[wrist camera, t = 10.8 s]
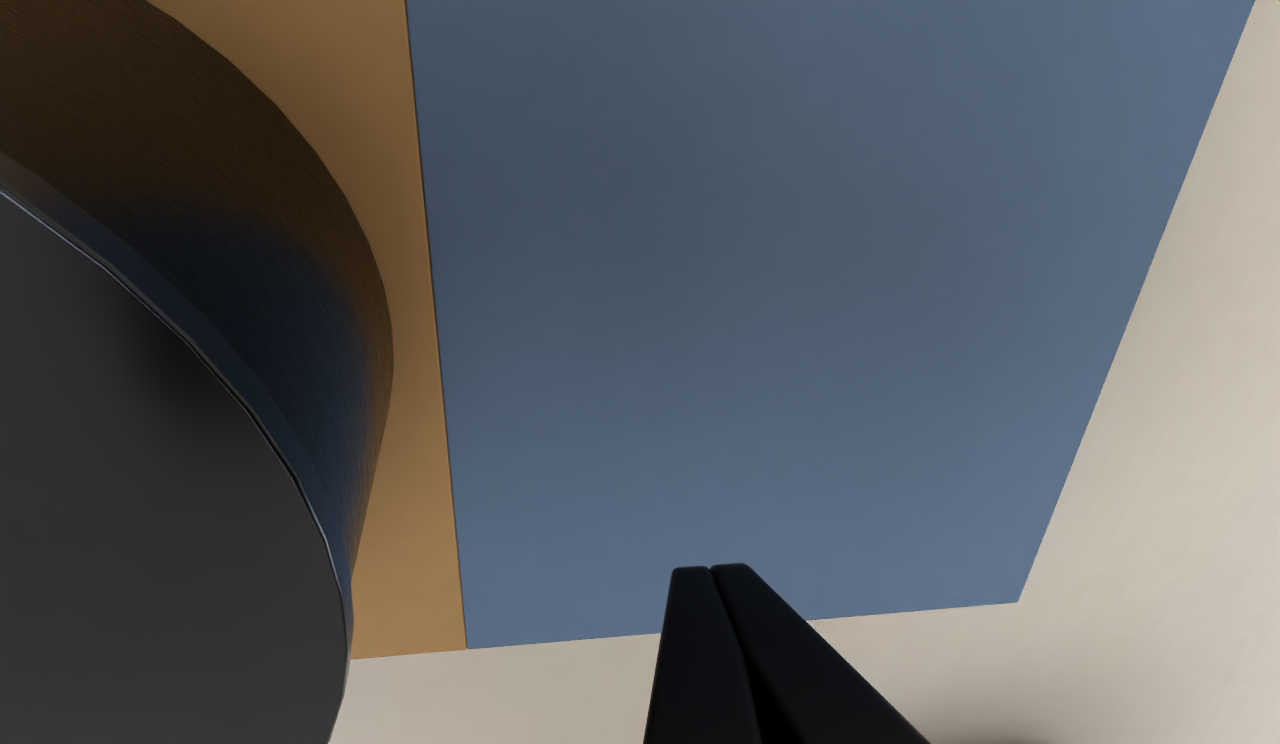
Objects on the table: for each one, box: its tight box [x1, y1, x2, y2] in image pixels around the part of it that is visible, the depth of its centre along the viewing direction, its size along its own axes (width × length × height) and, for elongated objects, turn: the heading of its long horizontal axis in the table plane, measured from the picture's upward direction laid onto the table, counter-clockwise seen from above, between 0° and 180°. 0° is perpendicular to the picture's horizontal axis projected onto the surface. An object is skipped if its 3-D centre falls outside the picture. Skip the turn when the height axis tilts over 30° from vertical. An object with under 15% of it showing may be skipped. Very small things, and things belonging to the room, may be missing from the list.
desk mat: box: [145, 0, 1255, 659], centre depth 15 cm, size 28×17×1 cm, turn 87°
